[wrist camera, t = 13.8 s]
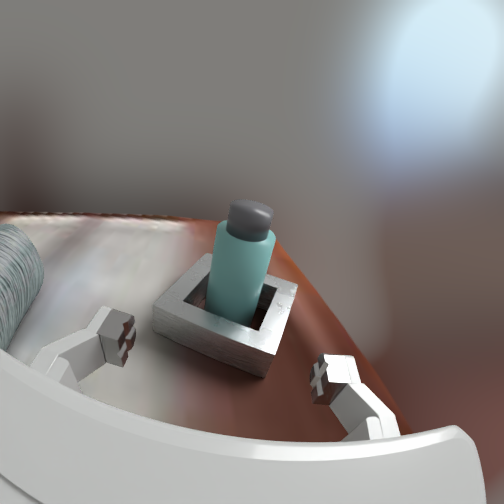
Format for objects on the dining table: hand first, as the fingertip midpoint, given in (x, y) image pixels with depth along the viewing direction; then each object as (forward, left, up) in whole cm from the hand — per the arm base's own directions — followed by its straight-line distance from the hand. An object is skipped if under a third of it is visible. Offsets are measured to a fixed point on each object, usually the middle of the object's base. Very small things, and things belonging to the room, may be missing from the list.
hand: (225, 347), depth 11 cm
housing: (-3, +11, -9) cm, 14 cm away
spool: (-20, -3, -9) cm, 22 cm away
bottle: (-3, +11, -9) cm, 14 cm away
